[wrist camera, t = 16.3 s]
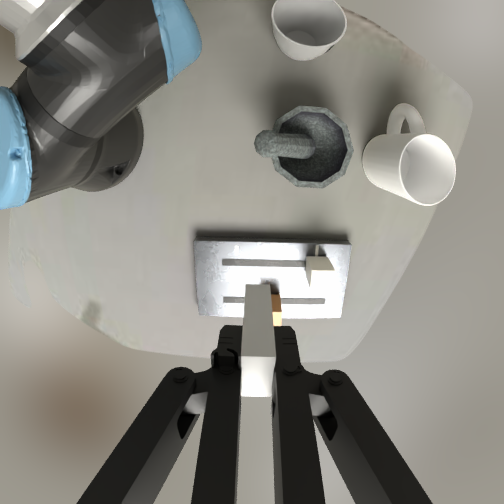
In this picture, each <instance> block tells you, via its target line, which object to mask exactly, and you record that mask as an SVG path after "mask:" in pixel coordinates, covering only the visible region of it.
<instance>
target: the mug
mask: <svg viewBox="0 0 504 504" xmlns="http://www.w3.org/2000/svg"><path fill="white" fill-rule="evenodd" d="M405 118H406V120H407V122H408V125H409V129H410V133H406V134H401V127H402V123H403V121H404V119H405ZM362 163H363V169H364V172H365V174H366V176H367V178H368V179H369V180H370V181H371V182H372V183H373V184H374V185H376V186H377V187H379V188H382V189H384V190H387V191H389V192H392V193H394V194H396V195H399V196H401V197H404V198H406V199H408V200H411V201H413V202H415V203H417V204H420V205H425V206H429V205H434V204H437V203H439V202H441V201H442V200H444V199H445V198H446V197H447V196H448V194H449V193H450V191H451V189H452V187H453V185H454V181H455V175H456V166H455V160H454V157H453V154H452V152H451V150H450V148H449V147H448V146H447V144H446V143H445V142H444V141H443V140H442V139H440V138H439V137H437V136H435V135H433V134H429V133H426V130H425V125H424V122H423V119H422V117H421V115H420V114H419V112H418V111H417V110H416V108H415V107H413V106H412V105H410V104H407V103H401V104H398V105H397V106H395V108H394V109H393V110H392V111H391V113H390V116H389V119H388V124H387V134H383V135H379V136H376V137H374V138H373V139H372V140H370V141H369V142H368V144H367V145H366V147H365V149H364V152H363V157H362Z"/></svg>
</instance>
